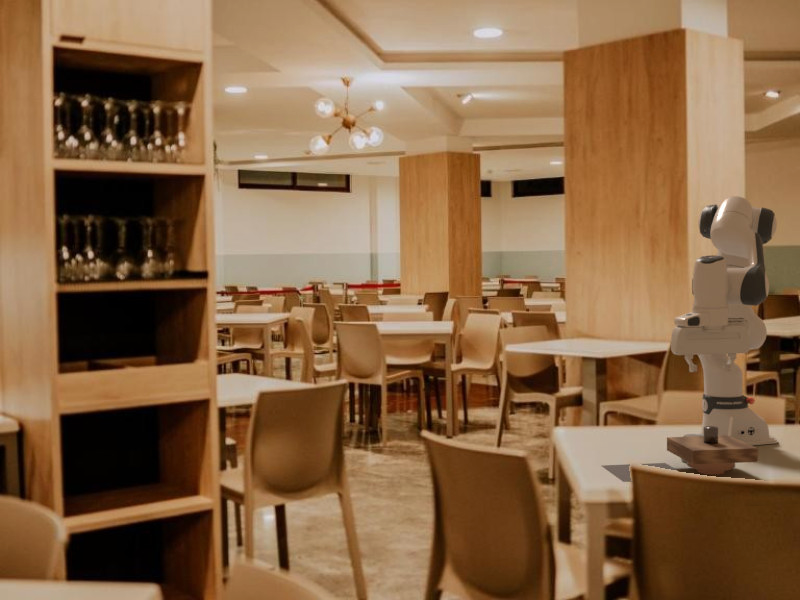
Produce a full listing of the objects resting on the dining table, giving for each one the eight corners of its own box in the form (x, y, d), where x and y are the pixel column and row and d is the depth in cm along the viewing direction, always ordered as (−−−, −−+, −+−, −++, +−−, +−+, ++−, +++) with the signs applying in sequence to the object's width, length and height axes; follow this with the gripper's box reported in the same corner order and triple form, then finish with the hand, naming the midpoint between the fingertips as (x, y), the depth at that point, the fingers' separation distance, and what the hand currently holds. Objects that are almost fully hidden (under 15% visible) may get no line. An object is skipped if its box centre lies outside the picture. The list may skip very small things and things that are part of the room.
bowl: (722, 466, 249) (722, 441, 249) (743, 477, 238) (743, 450, 237) (679, 468, 248) (679, 442, 248) (698, 479, 236) (698, 452, 236)
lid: (727, 447, 252) (727, 420, 252) (757, 461, 235) (757, 432, 235) (666, 450, 250) (666, 422, 250) (692, 464, 233) (692, 434, 233)
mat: (665, 464, 253) (665, 462, 253) (692, 480, 235) (692, 478, 235) (601, 467, 251) (600, 465, 251) (623, 483, 233) (623, 481, 233)
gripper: (743, 316, 245) (743, 368, 246) (668, 318, 243) (668, 371, 244) (754, 318, 239) (754, 371, 239) (677, 320, 237) (678, 374, 237)
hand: (710, 371), depth 242 cm, fingers open, 8 cm apart
